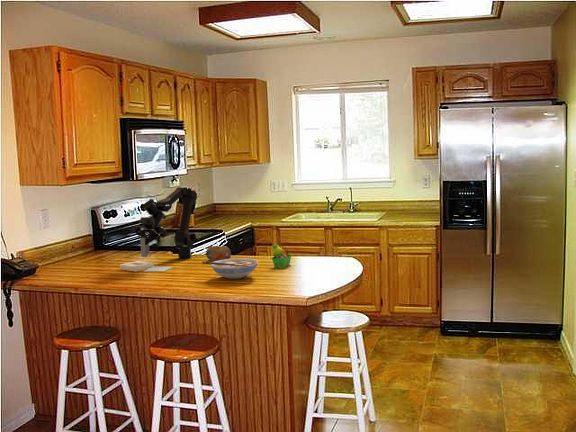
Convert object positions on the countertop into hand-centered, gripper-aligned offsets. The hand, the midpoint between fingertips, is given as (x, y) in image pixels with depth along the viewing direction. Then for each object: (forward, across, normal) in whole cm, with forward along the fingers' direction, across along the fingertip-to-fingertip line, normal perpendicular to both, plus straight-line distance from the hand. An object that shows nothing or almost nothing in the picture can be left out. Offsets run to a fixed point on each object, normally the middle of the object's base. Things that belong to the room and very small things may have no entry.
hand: (143, 244), depth 325 cm
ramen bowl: (+12, +57, +8) cm, 59 cm away
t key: (+4, 0, +6) cm, 7 cm away
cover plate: (+8, -7, +11) cm, 15 cm away
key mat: (+8, +7, +11) cm, 16 cm away
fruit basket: (-11, +65, +31) cm, 73 cm away
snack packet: (-13, +25, +33) cm, 43 cm away
